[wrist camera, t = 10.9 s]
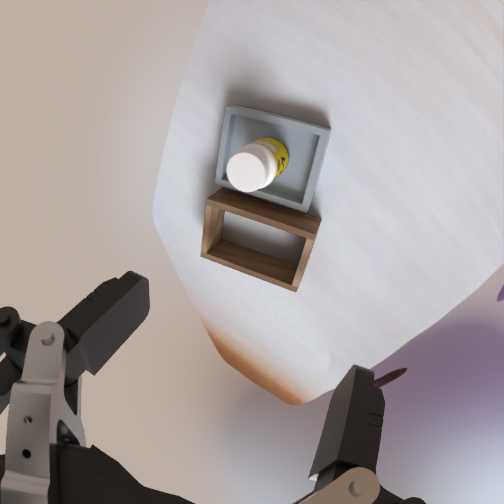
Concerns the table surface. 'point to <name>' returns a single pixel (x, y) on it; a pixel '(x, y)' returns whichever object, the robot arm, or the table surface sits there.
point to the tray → (299, 145)
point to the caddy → (251, 259)
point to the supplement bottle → (258, 164)
